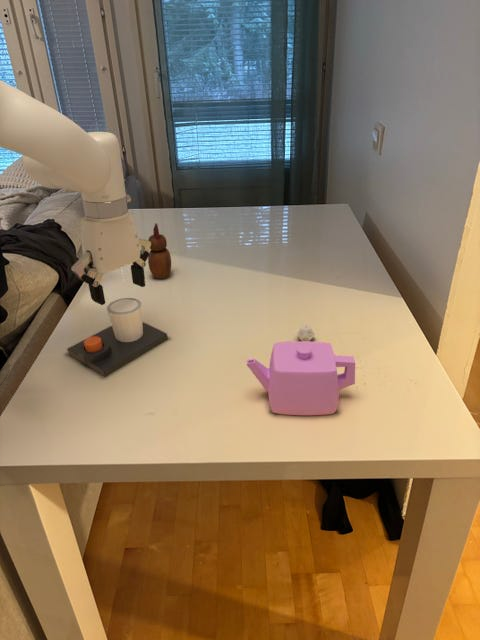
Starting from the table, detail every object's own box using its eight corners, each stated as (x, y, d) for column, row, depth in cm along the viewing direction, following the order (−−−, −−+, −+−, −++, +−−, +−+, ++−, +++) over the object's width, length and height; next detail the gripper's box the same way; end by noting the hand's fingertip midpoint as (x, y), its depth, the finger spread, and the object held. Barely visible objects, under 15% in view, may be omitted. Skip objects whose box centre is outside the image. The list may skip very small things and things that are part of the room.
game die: (296, 344, 94) (296, 331, 93) (297, 334, 97) (298, 322, 96) (313, 345, 94) (314, 333, 92) (314, 335, 97) (315, 323, 95)
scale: (102, 378, 87) (99, 365, 85) (66, 355, 93) (62, 343, 92) (167, 339, 97) (166, 326, 96) (131, 321, 104) (129, 309, 102)
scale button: (92, 354, 89) (90, 347, 88) (82, 349, 90) (80, 341, 89) (105, 347, 91) (104, 339, 90) (96, 341, 92) (94, 334, 92)
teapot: (246, 416, 77) (245, 367, 71) (248, 377, 86) (247, 330, 80) (357, 418, 76) (364, 367, 70) (347, 377, 85) (353, 330, 79)
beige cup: (142, 343, 94) (137, 313, 90) (108, 344, 94) (102, 314, 90) (148, 325, 99) (144, 296, 96) (117, 326, 100) (111, 297, 96)
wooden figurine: (171, 280, 121) (165, 225, 113) (149, 281, 121) (141, 226, 113) (173, 269, 127) (167, 216, 119) (152, 270, 127) (144, 217, 119)
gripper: (131, 193, 90) (141, 274, 99) (50, 215, 79) (70, 304, 88) (157, 200, 86) (165, 283, 95) (75, 223, 75) (93, 316, 83)
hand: (119, 293), depth 91 cm, fingers open, 9 cm apart
